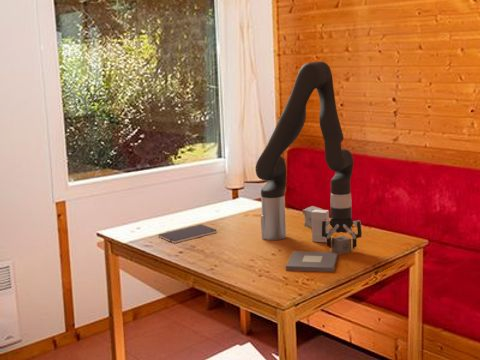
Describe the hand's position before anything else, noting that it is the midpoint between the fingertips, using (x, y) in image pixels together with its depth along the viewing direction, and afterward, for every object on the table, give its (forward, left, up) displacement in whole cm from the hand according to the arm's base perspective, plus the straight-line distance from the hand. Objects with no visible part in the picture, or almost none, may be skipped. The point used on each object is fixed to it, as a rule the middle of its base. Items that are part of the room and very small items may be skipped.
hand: (341, 247), depth 221 cm
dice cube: (0, 0, -2) cm, 2 cm away
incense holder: (-14, +31, -2) cm, 34 cm away
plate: (-9, -14, -1) cm, 17 cm away
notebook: (-65, +16, -2) cm, 67 cm away
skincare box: (-9, +12, -2) cm, 15 cm away
